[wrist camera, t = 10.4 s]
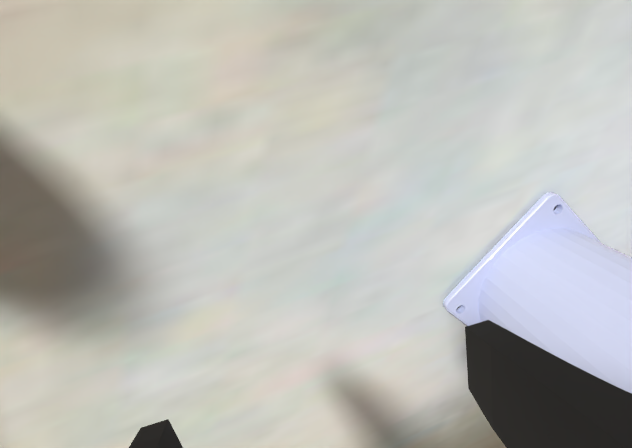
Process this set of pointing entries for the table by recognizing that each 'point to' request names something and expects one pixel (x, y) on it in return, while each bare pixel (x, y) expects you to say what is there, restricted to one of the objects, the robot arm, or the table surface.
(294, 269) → the table surface
